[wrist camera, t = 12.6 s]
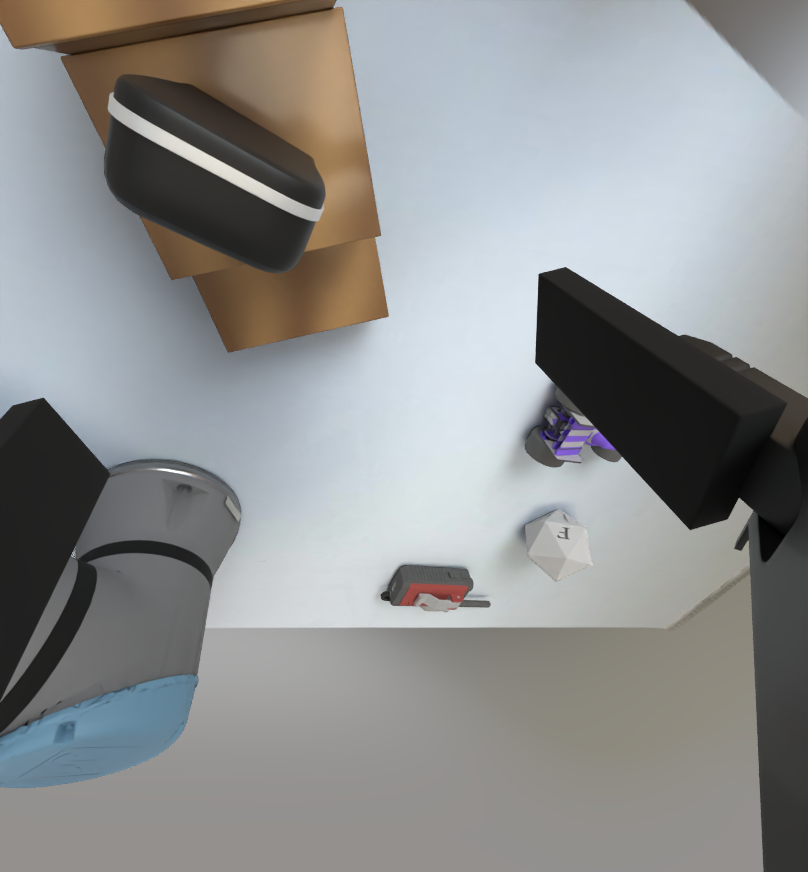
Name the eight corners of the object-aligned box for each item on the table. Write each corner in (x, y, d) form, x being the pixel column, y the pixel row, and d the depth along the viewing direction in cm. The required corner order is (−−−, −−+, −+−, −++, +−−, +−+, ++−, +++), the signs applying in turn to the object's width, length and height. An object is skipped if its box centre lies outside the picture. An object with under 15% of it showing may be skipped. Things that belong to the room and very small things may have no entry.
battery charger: (163, 161, 22) (73, 205, 13) (180, 76, 20) (90, 60, 11) (295, 229, 25) (295, 301, 16) (320, 161, 23) (336, 200, 14)
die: (583, 507, 63) (607, 529, 53) (573, 565, 64) (595, 597, 54) (525, 499, 64) (537, 519, 54) (516, 556, 65) (527, 585, 55)
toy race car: (614, 452, 55) (646, 487, 50) (517, 439, 50) (541, 476, 45) (660, 390, 50) (700, 423, 45) (556, 369, 45) (589, 403, 40)
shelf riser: (233, 331, 36) (212, 412, 27) (33, -125, 20) (-183, -308, 11) (381, 298, 36) (410, 366, 27) (295, -165, 21) (296, -367, 12)
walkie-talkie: (374, 597, 65) (484, 600, 72) (378, 625, 62) (493, 625, 69) (393, 562, 60) (509, 569, 68) (399, 589, 57) (520, 594, 64)
